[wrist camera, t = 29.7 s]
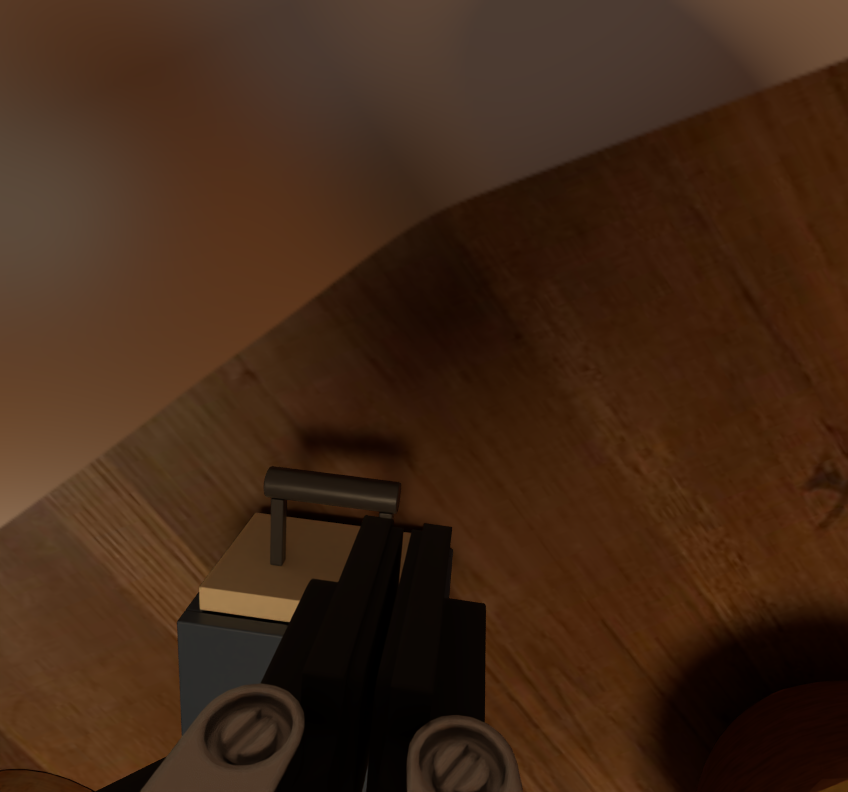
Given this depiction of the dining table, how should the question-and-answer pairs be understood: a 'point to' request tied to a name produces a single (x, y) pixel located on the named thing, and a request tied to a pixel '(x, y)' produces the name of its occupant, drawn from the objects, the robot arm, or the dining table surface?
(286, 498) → the drawer
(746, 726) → the bowl
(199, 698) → the cabinet
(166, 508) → the dining table surface
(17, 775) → the decorative piece
